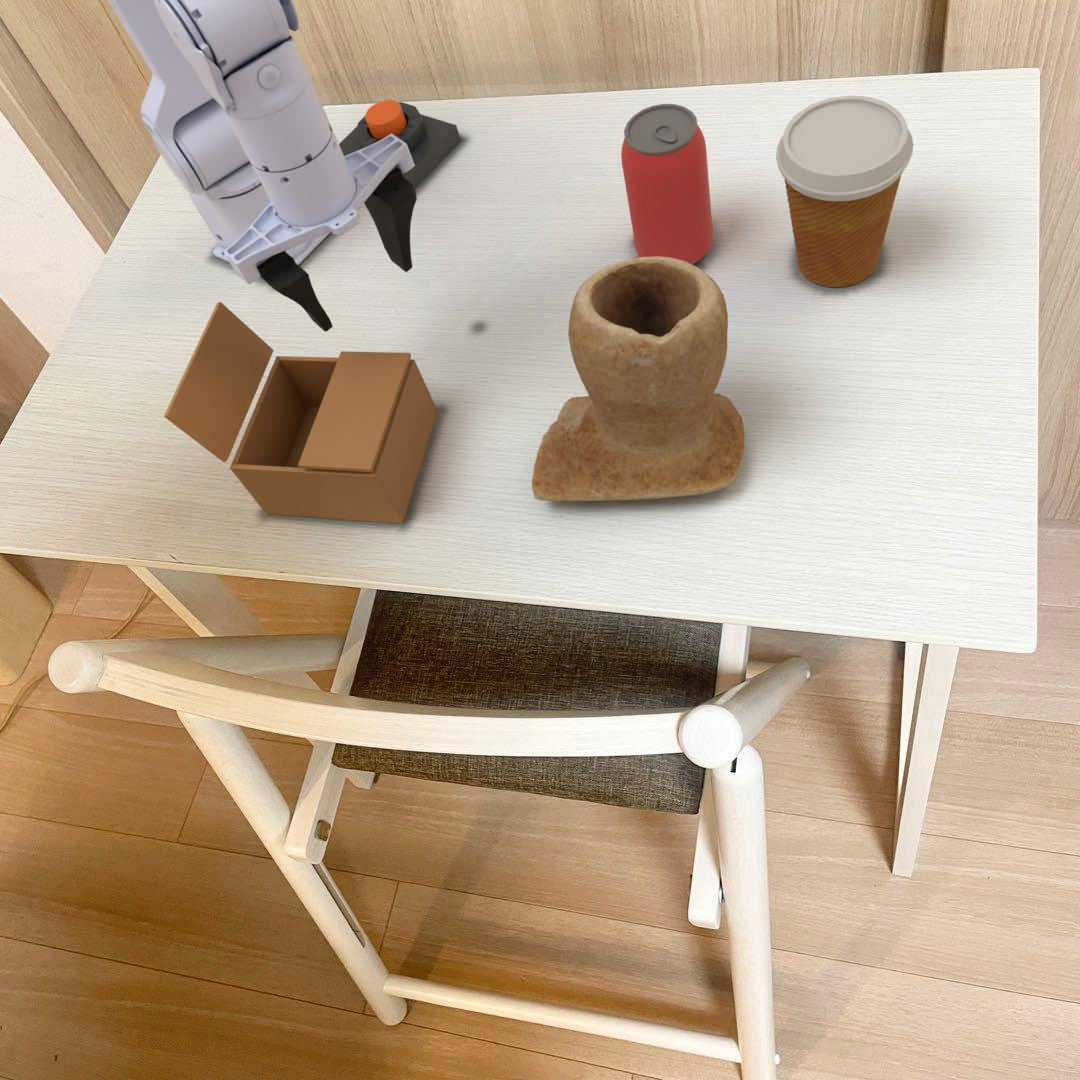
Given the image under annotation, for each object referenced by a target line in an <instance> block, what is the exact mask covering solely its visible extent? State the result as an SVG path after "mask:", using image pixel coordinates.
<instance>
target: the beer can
mask: <svg viewBox="0 0 1080 1080" xmlns="http://www.w3.org/2000/svg"><path fill="white" fill-rule="evenodd" d="M623 136H624V139H623V142H622V145H621V153H620V156H621V157H620V158H621V167H622V173H623V177H624V184H625V191H626V197H627V201H628V202H627V203H628V204H627V205H628V209H629V217H630V221H631V222H630V223H631V229H632V235H633V240H634V246H635V251H636V253H637V255H638V257H653V256H662V257H671V258H675V259H679V260H683V261H686V262H688V263H690V264H692V265H695V264H696V263H697V262H698V261H700V260H702V259H704V257H705V256H706V254H707V253H708V252H709V251H710V249H711V247H712V245H713V241H714V233H713V218H712V205H711V193H710V191H711V190H710V179H709V167H708V155H707V144H706V138H705V136H704V133H703V131H702V130H701V127H700V126H699V124H698V119H697V116H696V115H695V114H694V112H693V111H692V110H691V109H689V108H687V107H686V106H683V105H679V104H675V103H660V104H655V105H651V106H648V107H645V108H643V109H641V110H640V111H638V112H637V113H635V114H634V115H632V117H631V118H630V119H629V120H628V121H627V122H626V125H625V128H624V130H623Z"/></svg>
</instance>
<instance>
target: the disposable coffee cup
mask: <svg viewBox="0 0 1080 1080" xmlns="http://www.w3.org/2000/svg"><path fill="white" fill-rule="evenodd" d="M913 152H914V140H913V136H912V134H911V132H910V130H909V128H908V124H907V121H906V119H905V117H904V115H903V114H902V113H901V112H900V111H899V110H898V109H897V108H896V107H894V106H893V105H891V104H890V103H888V102H886V101H883V100H882V99H877V98H874V97H870V96H865V95H842V96H834V97H829V98H826V99H822V100H819V101H817V102H814V103H812V104H810V105H808V106H807V107H804V108H803V109H801V110H800V111H799V112H797V113H796V114H795V115H794V116H793V117H792V118H791V119H790V120H789V122H788V123H787V125H786V127H785V128H784V131H783V135H782V136H781V137H780V139H779V142H778V143H777V147H776V153H775V154H776V155H775V161H776V165H777V168H778V170H779V172H780V174H781V176H782V177H783V178H784V179H783V180H784V184H785V190H786V196H787V203H788V209H789V215H790V221H791V228H792V233H793V234H792V235H793V241H794V247H795V253H796V260H797V266H798V268H799V271H800V273H801V274H802V275H803V276H804V277H805V278H806V279H807V280H808V281H810V282H811V283H814V284H816V285H819V286H823V287H827V288H843V287H849V286H852V285H853V286H854V285H856V284H858V283H861V282H862V281H864V280H866V279H867V278H868V277H870V275H872V274H873V272H874V271H876V268H877V266H878V263H879V259H880V255H881V251H882V248H883V244H884V240H885V237H886V234H887V229H888V226H889V223H890V218H891V215H892V212H893V207H894V204H895V200H896V197H897V194H898V189H899V185H900V182H901V178H902V174H903V173H904V171H905V170H906V168H907V167H908V166H909V163H910V161H911V159H912V157H913Z"/></svg>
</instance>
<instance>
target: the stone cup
mask: <svg viewBox="0 0 1080 1080" xmlns="http://www.w3.org/2000/svg"><path fill="white" fill-rule="evenodd" d="M728 327H729V314H728V309H727V303H726V299H725V296H724V293H723V291H722V290H721V288H720V286H719V285H718V284H717V282H716V281H715V280H714V278H713V277H712V276H711V275H709V274H707V273H706V272H705V271H704V270H703V269H701V268H700V267H698V266H696V265H695V264H693V265H692V264H690V263H688V262H686V261H683V260H679V259H675V258H671V257H662V256H653V257H639V256H638V257H633V258H628V259H627V258H626V259H623V260H620V261H617V262H614V263H612V264H609V265H607V266H604V267H602V268H600V269H598V270H597V271H596V272H594V273H593V274H592V275H590V276H589V277H587V278H586V279H585V280H584V282H583V283H582V284H581V285H580V286H579V287H578V289H577V291H576V293H575V295H574V298H573V302H572V306H571V310H570V315H569V320H568V331H567V333H568V334H567V335H568V342H569V349H570V352H571V353H570V354H571V356H572V360H573V363H574V365H575V369H576V371H577V374H578V376H579V378H580V380H581V383H582V384H583V387H584V389H585V391H586V392H587V394H588V395H584V396H574V397H570V398H569V399H567V401H566V402H564V403H563V405H562V408H561V410H560V411H559V414H558V415H557V419H556V420H555V421H554V422H553V423H552V424H550V426H549V427H548V429H547V431H546V432H545V433H544V434H543V435H542V439H541V442H540V444H539V448H538V451H537V454H536V459H535V461H534V465H533V472H532V478H531V480H532V481H531V489H532V493H533V497H534V499H535V500H537V501H539V502H540V501H543V502H544V501H546V502H602V501H603V502H605V501H607V502H609V501H634V500H653V499H655V500H656V499H669V498H680V497H689V496H699V495H706V494H710V493H714V492H717V491H721V490H724V489H726V488H727V487H729V486H731V485H732V484H733V483H734V482H735V480H736V479H737V477H738V475H739V473H740V470H741V467H742V465H743V461H744V456H745V451H746V435H745V434H746V432H745V428H744V422H743V418H742V416H741V414H740V412H739V411H738V409H737V408H736V406H735V405H734V403H733V402H732V401H731V399H730V398H729V397H727V396H725V395H722V394H719V393H715V391H716V389H717V387H718V385H719V383H720V380H721V377H722V374H723V371H724V368H725V364H726V359H727V355H728V329H729V328H728Z"/></svg>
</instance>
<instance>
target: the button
mask: <svg viewBox="0 0 1080 1080" xmlns="http://www.w3.org/2000/svg"><path fill="white" fill-rule="evenodd" d="M364 116H365V119H366V122H367V124H368V127H369V129H370V132H371V134H372V136H373V137H374V138H376V139H383V138H385V137H386V136H388V135H389V134H393V135H394V136H396V135H398V134H400V133H401V132H402V131H403V130H404V129H405V128H406V125H407V122H406V119H405V116H404V113H403V110H402V108H401V105H400V104H399V103H398V101H397V100H393V99H386V100H381V101H379V102H376V103H374V104H373V105H371V106H370V107H369V108H368V109H367V110H366V112H365V115H364Z"/></svg>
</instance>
